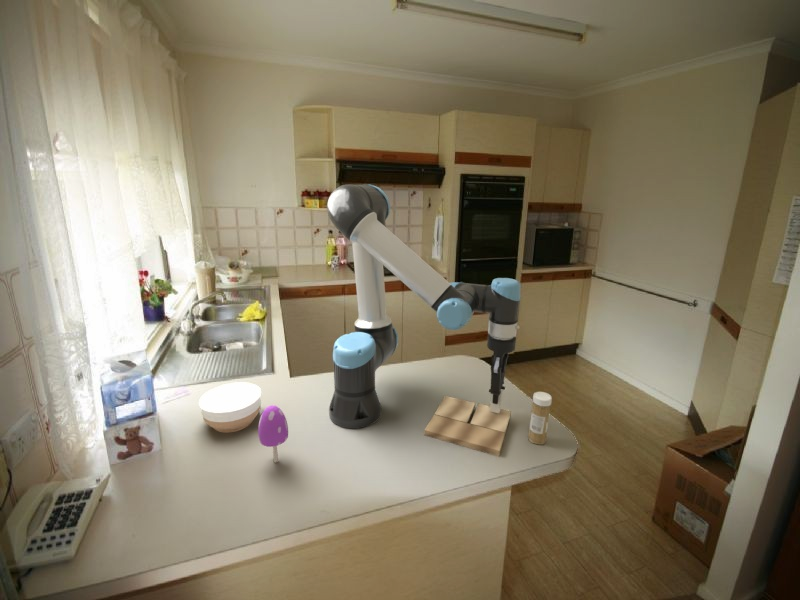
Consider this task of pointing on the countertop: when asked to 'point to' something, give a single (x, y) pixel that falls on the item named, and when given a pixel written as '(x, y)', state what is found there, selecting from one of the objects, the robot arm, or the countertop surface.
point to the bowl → (231, 406)
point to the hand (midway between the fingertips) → (495, 410)
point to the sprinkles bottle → (539, 417)
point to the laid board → (465, 434)
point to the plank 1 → (455, 409)
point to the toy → (273, 429)
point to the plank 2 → (491, 418)
